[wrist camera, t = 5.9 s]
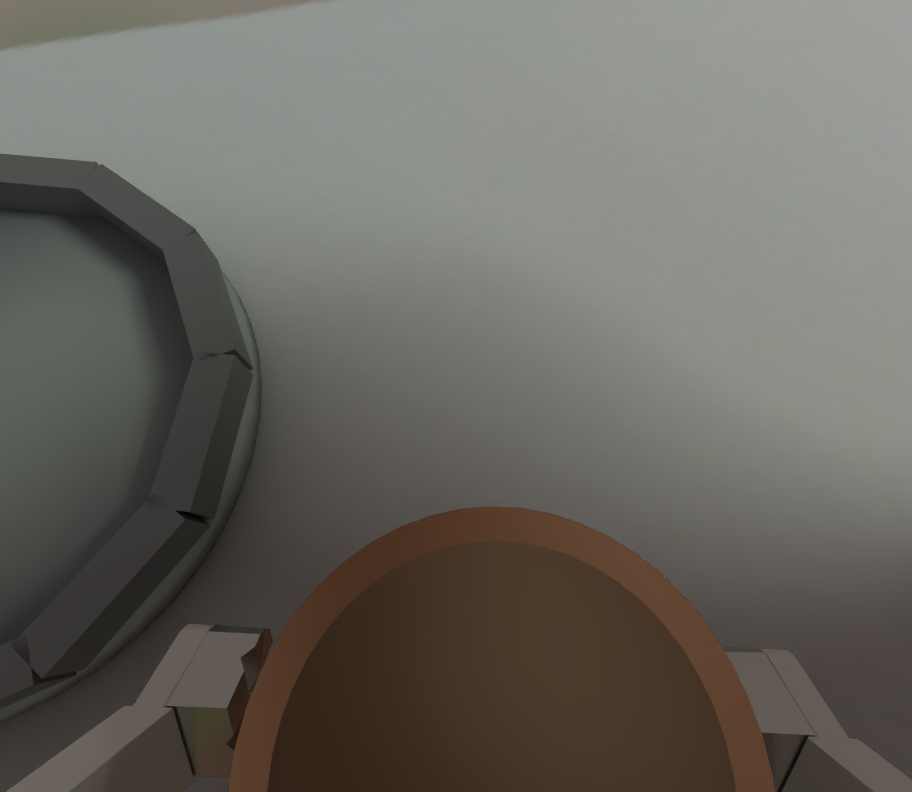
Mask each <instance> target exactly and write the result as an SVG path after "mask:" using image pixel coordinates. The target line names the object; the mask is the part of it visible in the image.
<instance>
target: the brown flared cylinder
mask: <svg viewBox="0 0 912 792" xmlns="http://www.w3.org/2000/svg"><path fill="white" fill-rule="evenodd" d="M228 792H775V788H774V781H773V775H772V771H771V767H770V763H769V759H768V755H767V751H766V747H765V744H764V740H763V736H762V733H761V730H760V727H759V724H758V722H757V719H756V716H755V714H754V711H753V708H752V706H751V703H750V700H749V697H748V695H747V693H746V691H745V689H744V687H743V685H742V683H741V681H740V679H739V677H738V675H737V673H736V671H735V669H734V667H733V665H732V663H731V661H730V659H729V657H728V656H727V654H726V653H725V651H724V649H723V648H722V646H721V645H720V643H719V641H718V640H717V638H716V637H715V635H714V634H713V632H712V630H711V629H710V627H709V626H708V625H707V624H706V622H705V621H704V620H703V619H702V617H701V616H700V615H699V614H698V612H697V611H696V610H695V609H694V607H693V606H692V605H691V604H690V602H689V601H688V600H687V599H686V598H685V597H684V596H683V595H682V594H681V593H680V592H679V591H678V590H677V589H676V588H675V587H674V586H673V585H672V584H671V583H670V582H669V581H668V580H667V579H666V578H665V577H664V576H663V575H662V574H661V573H660V572H659V571H657V570H656V569H655V568H654V567H652V566H651V565H650V564H649V563H647V562H646V561H645V560H644V559H642V558H641V557H640V556H638V555H637V554H636V553H634V552H633V551H631V550H630V549H628V548H626V547H625V546H623V545H621V544H620V543H618V542H617V541H615V540H613V539H612V538H610V537H609V536H607V535H604V534H602V533H600V532H598V531H596V530H594V529H591V528H589V527H587V526H585V525H583V524H581V523H578V522H575V521H572V520H569V519H565V518H562V517H559V516H556V515H553V514H550V513H544V512H538V511H533V510H527V509H522V508H506V507H481V508H470V509H459V510H455V511H450V512H446V513H441V514H437V515H432V516H429V517H426V518H423V519H421V520H418V521H415V522H412V523H410V524H407V525H404V526H401V527H400V528H398V529H396V530H394V531H392V532H390V533H388V534H386V535H384V536H382V537H380V538H378V539H377V540H375V541H373V542H371V543H370V544H369V545H367V546H366V547H364V548H363V549H361V550H360V551H359V552H357V553H356V554H354V555H353V556H351V557H350V558H348V559H347V560H346V561H345V562H344V563H343V564H341V565H340V566H339V567H338V568H337V569H336V570H335V571H334V572H333V573H331V574H330V575H329V576H328V577H327V578H326V579H325V580H324V581H323V582H322V583H321V584H320V585H319V586H318V587H317V588H316V589H315V591H314V592H313V593H312V594H311V595H310V596H309V597H308V599H307V600H306V601H305V602H304V603H303V604H302V605H301V607H300V608H299V609H298V610H297V612H296V613H295V615H294V616H293V618H292V619H291V621H290V622H289V624H288V625H287V626H286V628H285V629H284V631H283V632H282V634H281V635H280V637H279V638H278V640H277V642H276V644H275V646H274V647H273V649H272V651H271V653H270V655H269V657H268V659H267V661H266V662H265V664H264V666H263V668H262V670H261V672H260V674H259V677H258V679H257V682H256V684H255V687H254V689H253V692H252V694H251V697H250V699H249V702H248V704H247V707H246V710H245V714H244V717H243V721H242V724H241V728H240V732H239V735H238V739H237V742H236V746H235V751H234V757H233V763H232V769H231V775H230V781H229V787H228Z"/></svg>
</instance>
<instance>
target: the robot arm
mask: <svg viewBox="0 0 912 792" xmlns="http://www.w3.org/2000/svg"><path fill="white" fill-rule="evenodd" d="M271 644H272V637H271V633H270V629H264V628H250V627H236V626H222V625H204V624H187V625H186V626H185V627H184V628H183V629H182V630H181V631H180V632H179V633H178V635H177V636H176V638H175V640H174V641H173V643H172V644H171V646H170V648H169V649H168V651H167V652H166V654H165V655H164V657H163V659H162V660H161V662H160V663H159V665H158V667H157V668H156V670H155V671H154V673H153V675H152V676H151V678H150V679H149V681H148V682H147V684H146V686H145V687H144V689H143V690H142V692H141V694H140V695H139V697H138V698H137V700H136V701H135V703H134V705H133V706H123V707H122V708H120V709H119V710H118V711H116V712H115V713H114V714H112V715H111V716H109V717H108V718H107V719H105V720H104V721H102V722H101V723H100V724H98V725H97V726H96V727H94V728H93V729H91V730H90V731H89V732H87V733H86V734H85V735H83V736H82V737H80V738H79V739H78V740H76V741H75V742H73V743H72V744H71V745H69V746H68V747H67V748H65V749H64V750H62V751H61V752H60V753H58V754H57V755H55V756H54V757H53V758H51V759H50V760H49V761H47V762H46V763H44V764H43V765H42V766H40V767H39V768H38V769H36V770H35V771H33V772H32V773H31V774H29V775H28V776H26V777H25V778H24V779H22V780H21V781H20V782H18V783H17V784H15V785H14V786H13V787H11V788H10V789H9V790H7V791H6V792H183V791H184V790H185V789H186V788H187V787H188V786H189V785H190V784H191V783H192V782H193V781H194V777H230V775H231V769H232V763H233V757H234V751H235V746H236V742H237V739H238V735H239V732H240V728H241V724H242V721H243V717H244V714H245V710H246V707H247V704H248V702H249V699H250V697H251V694H252V692H253V689H254V687H255V684H256V682H257V679H258V677H259V674H260V672H261V670H262V668H263V666H264V664H265V662H266V661H267V659H268V657H269V655H270V653H269V649H270V647H271ZM722 648H723V649H724V651H725V653H726V654H727V656H728V657H729V659H730V661H731V663H732V665H733V667H734V669H735V671H736V673H737V675H738V677H739V679H740V681H741V683H742V685H743V687H744V689H745V691H746V693H747V695H748V697H749V700H750V703H751V706H752V708H753V711H754V714H755V716H756V719H757V722H758V724H759V727H760V730H761V733H762V736H763V740H764V744H765V747H766V751H767V755H768V759H769V763H770V767H771V771H772V775H773V781H774V788H775V792H912V780H911V779H910V778H909V777H907V776H906V775H905V774H904V773H902V772H901V771H900V770H898V769H897V768H896V767H894V766H893V765H892V764H890V763H889V762H888V761H886V760H885V759H884V758H883V757H881V756H880V755H879V754H877V753H876V752H875V751H873V750H872V749H871V748H869V747H868V746H867V745H865V744H864V743H863V742H862V741H860V740H859V739H852V738H849V737H848V736H847V734H846V733H845V731H844V730H843V728H842V727H841V725H840V724H839V722H838V721H837V719H836V718H835V716H834V715H833V713H832V712H831V710H830V709H829V707H828V706H827V704H826V703H825V701H824V700H823V698H822V697H821V695H820V694H819V692H818V691H817V689H816V688H815V686H814V685H813V683H812V682H811V680H810V679H809V677H808V676H807V674H806V673H805V671H804V670H803V668H802V667H801V665H800V664H799V662H798V661H797V659H796V658H795V656H794V655H793V654H792V653H790V652H789V651H788V650H776V649H756V648H735V647H722Z"/></svg>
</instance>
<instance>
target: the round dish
mask: <svg viewBox="0 0 912 792" xmlns="http://www.w3.org/2000/svg"><path fill="white" fill-rule="evenodd" d="M261 386H262V383H261V373H260V362H259V352H258V348H257V344H256V341H255V337H254V333H253V329H252V325H251V322H250V320H249V318H248V315H247V313H246V311H245V308H244V306H243V304H242V301H241V299H240V297H239V296H238V294H237V292H236V291H235V289H234V288H233V286H232V285H231V283H230V281H229V280H228V278H227V277H226V275H225V274H224V273H223V271H222V270H221V268H220V266H219V263H218V260H217V258H216V257H215V256H214V254H213V253H212V252H211V250H210V249H209V247H208V246H207V245H206V243H205V242H204V240H203V239H202V238H201V236H200V235H199V233H198V232H197V231H196V229H195V228H193V227H192V226H191V225H189V224H188V223H186V222H185V221H183V220H182V219H180V218H179V217H178V216H176V215H175V214H173V213H172V212H170V211H169V210H167V209H166V208H165V207H163V206H162V205H160V204H159V203H157V202H156V201H154V200H153V199H152V198H150V197H149V196H147V195H146V194H144V193H143V192H142V191H140V190H139V189H137V188H136V187H134V186H133V185H131V184H130V183H129V182H127V181H126V180H124V179H123V178H121V177H120V176H118V175H117V174H116V173H114V172H113V171H111V170H110V169H108V168H107V167H105V166H104V165H103V164H101V165H100V166H99V165H98V163H97V162H88V161H77V160H66V159H54V158H43V157H32V156H20V155H9V154H0V722H1V721H3V720H6V719H9V718H11V717H14V716H17V715H19V714H21V713H23V712H25V711H27V710H28V709H30V708H32V707H34V706H36V705H38V704H40V703H42V702H44V701H46V700H48V699H50V698H52V697H54V696H55V695H57V694H59V693H61V692H63V691H64V690H66V689H67V688H69V687H70V686H72V685H73V684H75V683H76V682H78V681H79V680H81V679H82V678H84V677H85V676H87V675H88V674H90V673H91V672H93V671H94V670H96V669H97V668H99V667H100V666H102V665H103V664H104V663H106V662H107V661H108V660H109V659H110V658H112V657H113V656H114V655H115V654H116V653H118V652H119V651H120V650H121V649H122V648H123V647H125V646H126V645H127V644H128V643H129V642H131V641H132V640H133V639H134V638H135V637H137V636H138V635H139V634H140V633H141V632H142V631H143V630H144V629H145V628H146V627H147V626H148V625H149V624H150V623H151V622H152V621H153V620H154V619H155V618H156V617H157V616H158V615H159V614H160V613H161V611H162V610H163V609H164V608H165V607H166V606H167V605H168V604H169V603H170V602H171V601H172V600H173V599H174V598H175V597H176V595H177V594H178V593H179V591H180V590H181V589H182V587H183V586H184V585H185V584H186V582H187V581H188V580H189V578H190V577H191V576H192V575H193V573H194V572H195V571H196V569H197V568H198V567H199V566H200V564H201V563H202V561H203V560H204V558H205V556H206V555H207V553H208V552H209V550H210V548H211V547H212V545H213V543H214V542H215V540H216V538H217V537H218V535H219V534H220V532H221V530H222V529H223V527H224V525H225V523H226V521H227V519H228V517H229V515H230V512H231V510H232V508H233V506H234V504H235V502H236V499H237V497H238V495H239V493H240V491H241V489H242V486H243V483H244V479H245V476H246V473H247V470H248V467H249V464H250V461H251V458H252V455H253V451H254V446H255V441H256V435H257V430H258V425H259V420H260V406H261Z"/></svg>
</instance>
